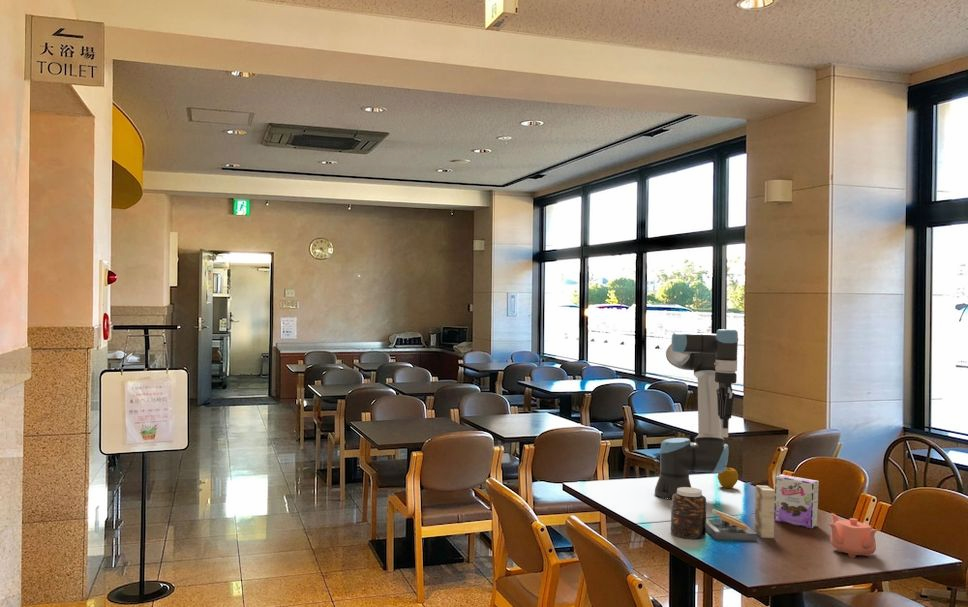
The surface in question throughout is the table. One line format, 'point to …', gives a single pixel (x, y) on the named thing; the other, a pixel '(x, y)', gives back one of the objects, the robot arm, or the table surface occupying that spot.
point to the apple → (728, 478)
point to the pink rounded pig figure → (852, 537)
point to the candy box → (796, 501)
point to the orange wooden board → (732, 521)
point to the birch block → (764, 511)
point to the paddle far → (724, 515)
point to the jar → (688, 513)
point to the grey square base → (729, 531)
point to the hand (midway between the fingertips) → (723, 436)
